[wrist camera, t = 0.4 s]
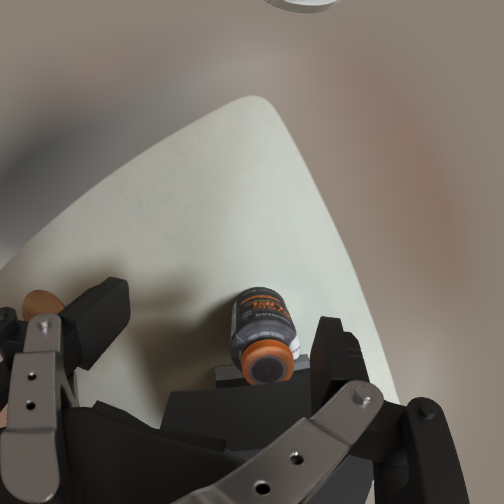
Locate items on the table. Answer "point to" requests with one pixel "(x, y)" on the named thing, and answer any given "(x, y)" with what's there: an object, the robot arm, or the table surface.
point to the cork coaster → (40, 304)
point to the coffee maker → (262, 423)
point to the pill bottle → (263, 337)
